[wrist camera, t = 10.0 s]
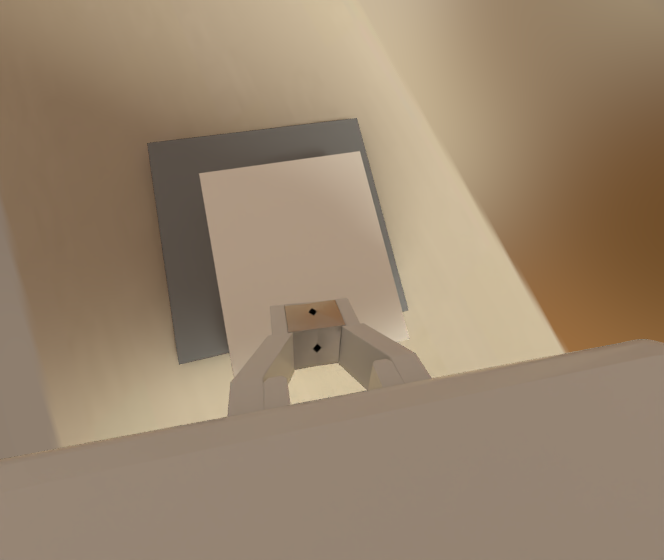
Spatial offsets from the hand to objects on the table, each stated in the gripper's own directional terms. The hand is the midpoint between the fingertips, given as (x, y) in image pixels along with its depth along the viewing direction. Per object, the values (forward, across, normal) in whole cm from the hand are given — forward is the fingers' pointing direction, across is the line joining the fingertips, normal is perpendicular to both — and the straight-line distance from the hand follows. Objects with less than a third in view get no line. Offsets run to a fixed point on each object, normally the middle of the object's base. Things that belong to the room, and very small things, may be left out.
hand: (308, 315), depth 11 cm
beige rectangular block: (+2, +1, -5) cm, 5 cm away
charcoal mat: (+9, 0, 0) cm, 9 cm away
